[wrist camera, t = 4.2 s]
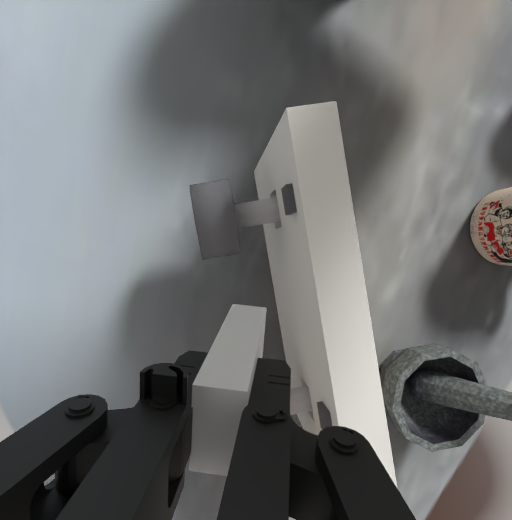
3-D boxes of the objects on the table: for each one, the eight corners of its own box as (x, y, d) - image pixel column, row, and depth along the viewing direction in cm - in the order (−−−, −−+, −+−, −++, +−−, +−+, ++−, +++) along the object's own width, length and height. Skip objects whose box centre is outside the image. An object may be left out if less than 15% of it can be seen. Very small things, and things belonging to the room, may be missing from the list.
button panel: (290, 410, 41) (350, 537, 23) (250, 172, 39) (279, 108, 21) (355, 396, 41) (462, 508, 24) (317, 161, 40) (400, 92, 22)
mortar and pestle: (367, 424, 42) (429, 494, 30) (358, 341, 41) (416, 379, 29) (461, 406, 43) (556, 467, 31) (452, 326, 42) (546, 356, 31)
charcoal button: (204, 258, 33) (201, 260, 27) (192, 191, 33) (187, 178, 27) (307, 240, 34) (327, 238, 28) (296, 175, 34) (314, 159, 28)
